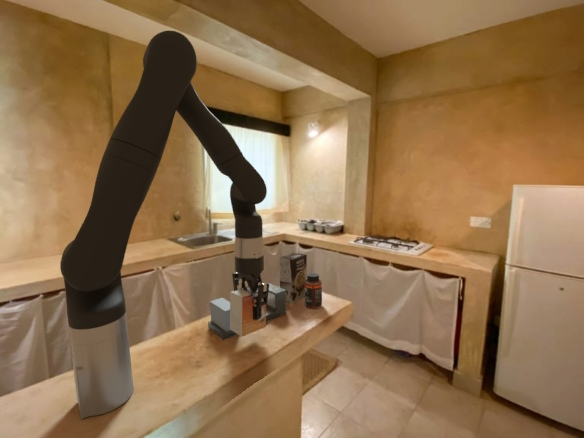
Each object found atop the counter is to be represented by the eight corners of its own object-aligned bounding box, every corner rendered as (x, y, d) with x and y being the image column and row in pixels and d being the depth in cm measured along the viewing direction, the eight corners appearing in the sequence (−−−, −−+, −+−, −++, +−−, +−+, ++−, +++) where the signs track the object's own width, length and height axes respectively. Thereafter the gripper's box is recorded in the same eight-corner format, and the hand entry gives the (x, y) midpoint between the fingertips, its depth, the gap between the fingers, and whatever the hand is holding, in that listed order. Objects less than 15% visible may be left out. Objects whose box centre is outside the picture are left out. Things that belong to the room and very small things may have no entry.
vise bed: (223, 340, 77) (222, 312, 76) (208, 328, 84) (206, 302, 83) (286, 313, 92) (285, 289, 91) (269, 304, 99) (268, 283, 98)
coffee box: (293, 304, 99) (292, 259, 97) (279, 299, 103) (278, 257, 101) (307, 295, 107) (307, 254, 105) (294, 291, 111) (293, 251, 108)
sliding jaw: (226, 331, 77) (225, 311, 77) (211, 320, 84) (210, 301, 83) (238, 326, 80) (237, 306, 79) (223, 316, 87) (222, 297, 86)
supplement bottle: (324, 304, 99) (324, 273, 97) (317, 311, 94) (317, 278, 92) (309, 300, 102) (309, 270, 100) (301, 307, 97) (301, 275, 95)
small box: (241, 337, 70) (241, 297, 69) (229, 329, 74) (229, 291, 73) (266, 327, 76) (266, 289, 75) (254, 320, 80) (254, 284, 79)
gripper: (222, 251, 76) (224, 310, 78) (253, 261, 65) (254, 329, 67) (246, 246, 81) (247, 302, 83) (277, 256, 70) (278, 319, 72)
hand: (250, 314), depth 75 cm, fingers closed on small box, 5 cm apart
